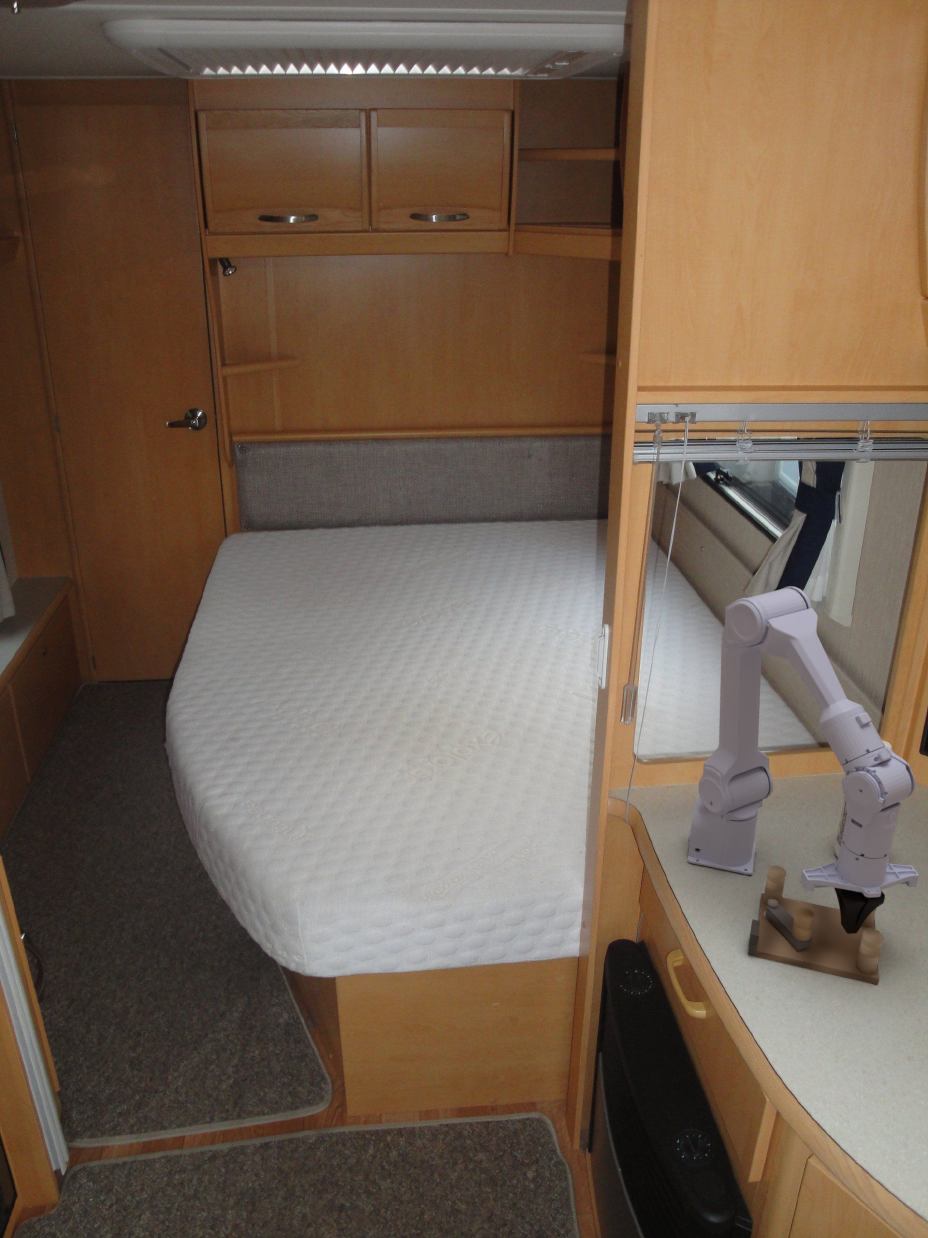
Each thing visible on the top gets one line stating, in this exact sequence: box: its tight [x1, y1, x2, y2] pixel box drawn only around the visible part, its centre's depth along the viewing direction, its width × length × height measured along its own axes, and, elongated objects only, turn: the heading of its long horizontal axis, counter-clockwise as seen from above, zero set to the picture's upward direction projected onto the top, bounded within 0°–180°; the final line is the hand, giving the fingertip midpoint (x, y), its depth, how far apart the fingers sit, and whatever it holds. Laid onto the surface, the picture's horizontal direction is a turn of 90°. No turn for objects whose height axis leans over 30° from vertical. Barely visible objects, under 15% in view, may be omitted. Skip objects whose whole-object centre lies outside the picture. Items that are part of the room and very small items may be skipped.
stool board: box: [747, 865, 884, 986], centre depth 125 cm, size 16×12×6 cm
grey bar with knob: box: [765, 899, 815, 951], centre depth 125 cm, size 8×2×5 cm, turn 20°
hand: (848, 928), depth 123 cm, fingers closed
